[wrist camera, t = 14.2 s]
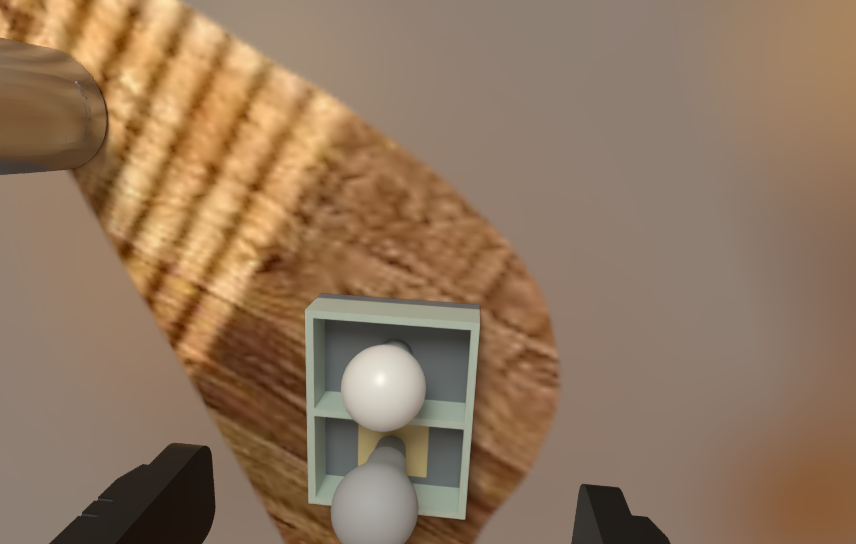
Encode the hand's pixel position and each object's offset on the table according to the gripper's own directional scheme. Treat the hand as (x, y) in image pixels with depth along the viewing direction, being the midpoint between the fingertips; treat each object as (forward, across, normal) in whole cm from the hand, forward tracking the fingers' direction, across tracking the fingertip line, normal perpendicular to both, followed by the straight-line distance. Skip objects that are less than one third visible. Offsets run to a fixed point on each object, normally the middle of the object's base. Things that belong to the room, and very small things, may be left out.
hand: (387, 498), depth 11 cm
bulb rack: (+30, +4, +14) cm, 33 cm away
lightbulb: (+29, +4, +18) cm, 34 cm away
